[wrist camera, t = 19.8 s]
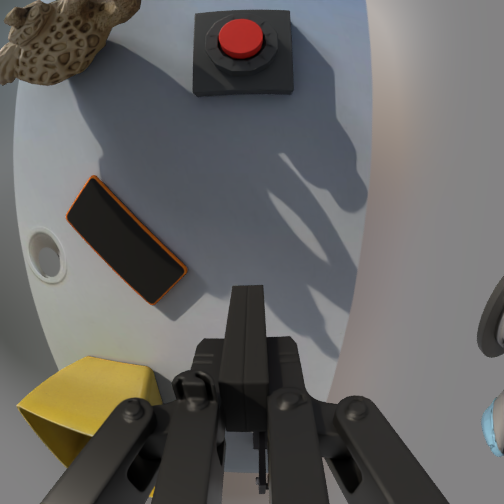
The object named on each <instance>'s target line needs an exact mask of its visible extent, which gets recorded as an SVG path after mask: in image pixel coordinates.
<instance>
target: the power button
mask: <svg viewBox="0 0 504 504" xmlns="http://www.w3.org/2000/svg"><path fill="white" fill-rule="evenodd" d="M219 41H220V44H221V47H222V49H223V51H224V52H225V53H226V54H227V55H228V56H230V57H232V58H236V59H246V58H250V57H252V56H254V55H255V54H257V53H258V52H259V51H260V49H261V47H262V43H263V32H262V30H261V28H260V26H259V25H258V24H256V23H255V22H253V21H251V20H247V19H236V20H233V21H230V22H228V23H227V24H225V25H224V26H223V27H222V29H221V30H220V33H219Z"/></svg>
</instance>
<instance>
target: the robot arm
mask: <svg viewBox="0 0 504 504" xmlns="http://www.w3.org/2000/svg"><path fill="white" fill-rule="evenodd" d="M495 340H496V341H497V342H498V343H499V344H500V346H502V347H504V306H503V308H502V310H501V312H500V314H499V317H498V320H497V323H496V327H495ZM172 387H173V390H174V393H175V396H176V399H177V400H175V401H173V402H170V403H167V404H161V405H154V406H151V404H150V403H149V402H148V401H147V400H145V399H143V398H138V397H134V398H128V399H126V400H123V401H122V402H120V403H119V404H118V405H117V406H116V407H115V409H114V410H113V411H112V412H111V414H110V415H109V416H108V417H107V419H106V420H105V421H104V423H103V424H102V425H101V426H100V428H99V429H98V430H97V431H96V433H95V434H94V435H93V436H92V438H91V439H90V440H89V441H88V443H87V444H86V445H85V447H84V448H83V449H82V450H81V452H80V453H79V454H78V455H77V457H76V458H75V459H74V461H73V462H72V463H71V464H70V466H69V467H68V468H67V470H66V471H65V472H64V473H63V475H62V476H61V477H60V479H59V480H58V481H57V482H56V484H55V485H54V486H53V488H52V489H51V490H50V491H49V493H48V494H47V495H46V497H45V498H44V499H43V501H42V502H41V503H40V504H145V502H146V500H147V498H148V497H149V495H150V494H151V492H152V490H153V488H154V486H155V489H154V493H153V497H152V502H151V504H221V501H222V488H223V476H224V475H223V474H224V463H225V450H226V441H225V427H226V431H229V432H262V431H268V450H267V454H268V473H269V504H329V499H328V492H327V485H326V479H325V473H324V468H323V462H322V457H324V458H325V460H326V462H327V464H328V466H329V468H330V470H331V472H332V474H333V476H334V477H335V479H336V481H337V483H338V485H339V487H340V489H341V490H342V493H343V495H344V496H345V498H346V500H347V502H348V504H449V502H448V501H447V500H446V498H445V497H444V495H443V494H442V493H441V491H440V490H439V489H438V487H437V486H436V485H435V483H434V482H433V481H432V480H431V478H430V477H429V475H428V474H427V473H426V471H425V470H424V469H423V467H422V466H421V465H420V463H419V462H418V461H417V459H416V458H415V457H414V455H413V454H412V453H411V451H410V450H409V449H408V448H407V446H406V445H405V443H404V442H403V441H402V439H401V438H400V437H399V435H398V434H397V433H396V432H395V430H394V429H393V428H392V426H391V425H390V423H389V422H388V421H387V420H386V418H385V417H384V416H383V414H382V413H381V412H380V410H379V409H378V408H377V407H376V405H375V404H374V403H373V402H372V401H371V400H370V399H368V398H365V397H363V396H349V397H346V398H344V399H342V400H341V401H340V402H339V403H338V404H333V403H326V402H322V401H318V400H316V399H314V398H313V397H311V396H310V395H309V394H308V392H307V391H306V388H305V384H304V379H303V374H302V368H301V363H300V358H299V354H298V348H297V344H296V342H295V341H294V340H293V339H292V338H291V337H290V336H286V337H266V323H265V307H264V291H263V285H248V286H232V292H231V299H230V306H229V312H228V319H227V325H226V332H225V339H206V338H204V339H203V340H202V341H201V342H200V343H199V344H198V345H197V348H196V352H195V356H194V359H193V363H192V367H191V370H188V371H185V372H182V373H180V374H179V375H177V376H176V377H175V378H174V379H173V381H172ZM481 425H482V431H483V434H484V437H485V440H486V442H487V444H488V446H490V449H491V451H492V452H493V453H494V454H495V455H496V456H498V457H501V456H503V455H504V390H503V391H502V393H501V394H500V395H499V396H498V397H496V398H495V399H494V401H493V403H492V404H491V405H490V406H489V407H488V408H487V409H486V410H485V412H484V413H483V416H482V421H481Z"/></svg>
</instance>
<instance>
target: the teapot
mask: <svg viewBox="0 0 504 504" xmlns="http://www.w3.org/2000/svg"><path fill="white" fill-rule="evenodd" d="M140 5H141V0H56V1H54V2H51V3H49V4H45V3H43V2H42V1H40V0H37V1H35V2H33V3H31V4H29V5H27V6H25V7H24V8H20V7H14V9H13V10H11V11H10V12H9V13H8V14H7V15H6V18H5V19H4V23H5V24H8V25H9V26H11V25H12V26H11V29H10V32H9V38H8V40H9V41H10V42H9V43H7V44H6V45H5V46H3V48H2V49H1V50H0V84H2V86H3V85H5V84H6V83H12V82H13V81H14V80H15V78H18V79H20V80H23V81H26V82H28V83H31V84H38V85H46V86H49V85H54V84H57V83H60V82H62V81H64V80H66V79H68V78H70V77H72V76H74V75H76V74H79V73H81V72H83V71H84V70H85V69H86V68H87V67H88V66H89V65H90V63H91V62H92V61H93V59H94V57H95V55H96V54H97V53H98V52H99V51H100V50H101V49H102V48H103V47H104V46H105V45H106V40H107V38H108V36H109V34H110V32H111V29H112V27H114V26H116V25H118V24H121V23H125V22H126V21H128V20H129V19H130V18H131V17H132V16H133V15H134V14H135V13H136V12H137V11H138V10H139V9H140Z"/></svg>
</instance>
